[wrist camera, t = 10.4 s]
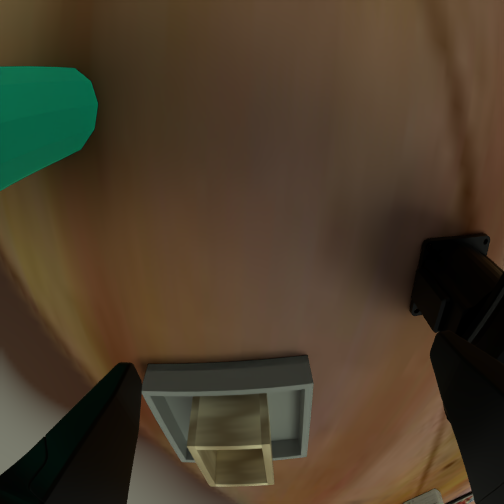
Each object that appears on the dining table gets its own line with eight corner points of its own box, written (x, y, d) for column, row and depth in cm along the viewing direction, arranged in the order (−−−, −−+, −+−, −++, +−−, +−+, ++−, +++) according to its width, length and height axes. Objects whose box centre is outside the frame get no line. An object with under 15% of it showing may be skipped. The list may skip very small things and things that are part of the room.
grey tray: (307, 355, 25) (313, 383, 22) (303, 434, 31) (306, 456, 28) (148, 363, 25) (140, 390, 22) (184, 439, 31) (181, 461, 29)
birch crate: (265, 382, 25) (270, 444, 20) (270, 434, 29) (274, 484, 24) (194, 386, 25) (186, 446, 20) (212, 436, 29) (210, 486, 24)
